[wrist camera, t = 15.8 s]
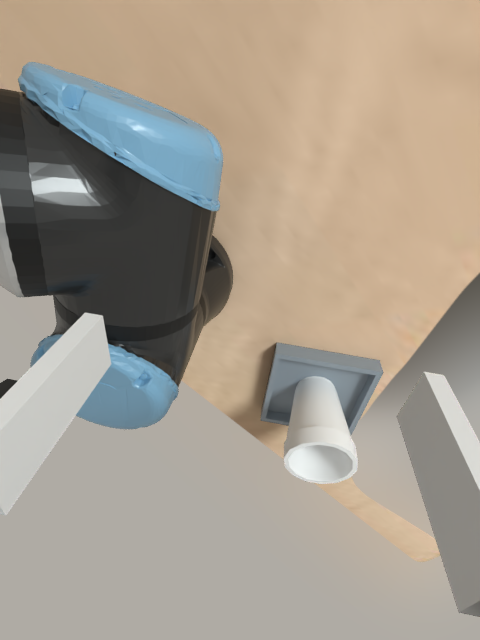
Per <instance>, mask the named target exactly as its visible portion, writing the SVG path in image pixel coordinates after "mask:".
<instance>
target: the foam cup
mask: <svg viewBox="0 0 480 640" xmlns="http://www.w3.org/2000/svg"><path fill="white" fill-rule="evenodd" d="M284 463H285V467H286V469H287V470H288V471H289V472H290V473H291V474H292V475H293V476H295V477H298V478H300V479H302V480H304V481H307V482H312V483H318V484H328V483H338V482H340V481H343V480H346V479H348V478H350V477H351V476H352V475H353V474H354V473H355V472H356V471H357V466H358V459H357V453H356V447H355V444H354V442H353V441H352V438H351V435H350V432H349V429H348V426H347V423H346V420H345V416H344V413H343V410H342V407H341V404H340V401H339V398H338V395H337V391H336V389H335V386H334V385H333V383H332V382H331V381H330V380H328V379H326V378H324V377H318V376H312V377H306V378H304V379H303V380H301V381H299V383H298V384H297V386H296V390H295V394H294V400H293V405H292V411H291V416H290V422H289V428H288V433H287V439H286V441H285V442H284Z"/></svg>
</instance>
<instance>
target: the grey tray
mask: <svg viewBox="0 0 480 640" xmlns="http://www.w3.org/2000/svg"><path fill="white" fill-rule="evenodd" d="M382 374H383V370H382V367H381V364H380V360H374V359H368V358H363V357H357V356H351V355H345V354H340V353H334V352H328V351H322V350H317V349H311V348H305V347H300V346H294V345H288V344H282V343H276V348H275V352H274V357H273V361H272V365H271V370H270V374H269V379H268V383H267V388H266V392H265V397H264V401H263V406H262V411H261V421H266V422H272V423H277V424H282V425H288V426H289V422H290V416H291V411H292V405H293V400H294V394H295V390H296V386H297V384H298V383H299V381H301V380H303V379H304V378H306V377H312V376H318V377H324V378H326V379H328V380H330V381H331V382H332V383H333V385H334V386H335V389H336V391H337V395H338V398H339V401H340V404H341V407H342V410H343V413H344V416H345V420H346V423H347V426H348V429H349V432H350V435H351V434H352V432H353V431H354V429H355V427H356V425H357V423H358V421H359V419H360V417H361V415H362V413H363V411H364V409H365V407H366V405H367V403H368V401H369V400H370V398H371V396H372V394H373V392H374V390H375V388H376V386H377V384H378V382H379V380H380V378H381V376H382Z"/></svg>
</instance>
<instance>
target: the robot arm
mask: <svg viewBox="0 0 480 640" xmlns="http://www.w3.org/2000/svg"><path fill="white" fill-rule="evenodd" d="M18 82H19V86H20V90H21V91H23V92H16V91H11V90H5V89H0V285H1V286H2V287H4V288H5V289H7V290H8V291H10V292H11V293H13V294H14V295H16V296H17V297H31V296H45V295H53V297H54V305H55V313H56V320H57V325H56V328H55V331H54V332H53V334H52V335H51V336H48V337H47V338H44V339H43V340H42V341H41V342H40V343H39V345H38V346H39V347H38V349H37V350H36V351H35V353H34V354H33V356H32V360H31V368H30V369H29V370H28V371H27V372H26V373H25V374H24V375H23V376H22V377H21V378H20V379H19V380H18V381H16V380H11V379H6V380H5V381H3V382H1V383H0V514H2V515H7V513H8V512H9V510H10V509H11V508H12V506H13V505H14V503H15V502H16V500H17V499H18V498H19V496H20V495H21V493H22V492H23V490H24V489H25V487H26V486H27V485H28V483H29V482H30V480H31V479H32V477H33V476H34V475H35V473H36V472H37V470H38V469H39V467H40V466H41V464H42V463H43V461H44V460H45V459H46V457H47V456H48V454H49V453H50V451H51V450H52V449H53V447H54V446H55V444H56V443H57V441H58V440H59V439H60V437H61V435H62V434H63V433H64V431H65V430H66V428H67V427H68V426H69V424H70V423H71V421H72V420H73V418H74V417H75V415H76V416H78V417H80V418H83V419H85V420H87V421H90V422H93V423H96V424H99V425H103V426H107V427H112V428H119V429H137V428H139V427H148V426H150V425H152V424H155V423H157V422H158V421H160V420H161V419H162V418H163V417H164V416H165V414H166V413H167V411H168V409H169V407H170V405H171V404H172V401H173V400H175V398H176V397H177V395H178V392H179V391H178V387H179V384H180V382H181V379H182V377H183V374H184V372H185V369H186V367H187V365H188V362H189V360H190V357H191V355H192V352H193V350H194V347H195V345H196V343H197V340H198V338H199V335H200V333H201V330H202V328H203V326H205V325H206V324H207V323H208V322H209V321H211V320H212V319H213V318H214V317H216V316H217V315H218V314H219V313H220V312H221V311H222V309H223V308H224V306H225V305H226V303H227V301H228V298H229V295H230V292H231V289H232V285H233V270H232V266H231V262H230V259H229V257H228V255H227V253H226V251H225V250H224V248H223V247H222V245H221V244H220V243H219V241H218V240H217V239H216V238H215V237H214V236H213V235H212V233H213V228H214V223H215V217H216V212H217V211H218V210H219V208H220V202H219V200H218V196H219V189H220V181H221V174H222V166H223V153H222V149H221V147H220V144H219V142H218V140H217V139H216V137H215V136H214V135H213V134H212V133H211V132H210V131H209V130H208V129H206V128H205V127H203V126H202V125H200V124H198V123H196V122H194V121H192V120H190V119H188V118H186V117H184V116H182V115H179V114H177V113H175V112H173V111H170V110H168V109H166V108H163V107H161V106H159V105H156V104H154V103H151V102H149V101H146V100H144V99H141V98H139V97H136V96H134V95H131V94H129V93H126V92H124V91H121V90H118V89H116V88H113V87H111V86H108V85H105V84H102V83H100V82H97V81H94V80H91V79H88V78H86V77H83V76H79V75H76V74H73V73H68V72H65V71H62V70H58V69H55V68H53V67H51V66H48V65H45V64H40V63H35V62H29V63H27V64H26V65H25V66H23V68H22V74H21V76H20V77H19V78H18ZM397 419H398V422H399V425H400V428H401V431H402V435H403V438H404V441H405V444H406V447H407V451H408V454H409V457H410V460H411V463H412V466H413V469H414V473H415V476H416V479H417V482H418V485H419V488H420V491H421V494H422V498H423V501H424V504H425V507H426V511H427V513H428V517H429V520H430V523H431V526H432V530H433V533H434V536H435V539H436V542H437V545H438V549H439V552H440V555H441V558H442V561H443V564H444V567H445V571H446V573H447V577H448V580H449V583H450V586H451V589H452V593H453V596H454V599H455V602H456V605H457V609H458V611H459V613H464V614H469V615H473V616H478V617H480V442H479V440H478V438H477V436H476V435H475V433H474V431H473V429H472V427H471V425H470V423H469V421H468V419H467V418H466V416H465V414H464V412H463V410H462V408H461V406H460V404H459V403H458V401H457V399H456V397H455V395H454V393H453V391H452V390H451V388H450V386H449V384H448V382H447V380H446V378H445V376H444V375H439V374H434V373H428V372H424V373H423V374H422V376H421V378H420V379H419V381H418V383H417V384H416V386H415V387H414V389H413V390H412V392H411V394H410V395H409V397H408V399H407V400H406V402H405V403H404V405H403V407H402V408H401V410H400V412H399V413H398V415H397Z"/></svg>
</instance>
